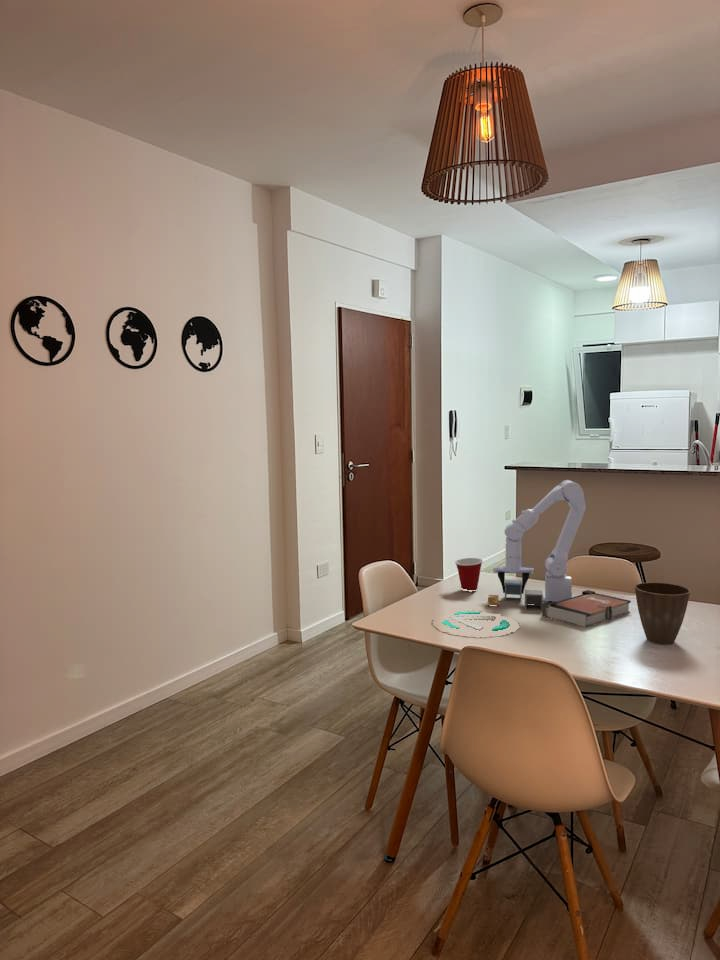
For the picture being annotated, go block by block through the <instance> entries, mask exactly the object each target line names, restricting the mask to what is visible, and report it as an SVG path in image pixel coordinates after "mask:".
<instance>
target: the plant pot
mask: <svg viewBox="0 0 720 960" xmlns="http://www.w3.org/2000/svg"><path fill="white" fill-rule="evenodd" d="M634 592H635V599H636V604H637V610H638V615H639V618H640V622H641V626H642V630H643V632H644V635H645V637H646V640H647V641H648V642H649V643H652V644H657V645H665V646H667V645H673V644H674V643H675V641H676V639H677V637H678V635H679V632H680V631H681V628H682V625H683V622H684V619H685V615H686V611H687V607H688V603H689V599H690V593H691V590H690V589H689V588H687V587H684V586H682V585H677V584H674V583H665V582H640V583H638V584H635V586H634Z"/></svg>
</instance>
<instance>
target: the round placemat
mask: <svg viewBox="0 0 720 960" xmlns="http://www.w3.org/2000/svg"><path fill="white" fill-rule="evenodd" d="M462 611H463V610H462ZM465 611H466V612H465ZM470 611H471V610H464V611H463V612H461V611H455V612H456V613H455V614H454V615H459V614H480V613H481V612H480V611H479V612H475V611H476V610H472V611H471V612H470ZM449 618H451V619H452V620H455V621H458V622H459V623H462V624H464V625H466V626H467V627H471V628H473V629H475V630H479V631H480V630H482V629H483V628H484V626H480V625H476V624H474V623H472V622H468V621H465V620H466V619H469V620H472V619H474V620H477V619H478V620H487V621H488V620H491V621H494V620H495V619H496V617H495V616H491V617H490V616H486V617H485V616H480V617H479V616H475V617H474V616H472V617H469V616H467V617H464V616H461V617H459V616H456V617H449ZM463 619H465V620H463ZM448 621H449V620H444V622H442V623H443V624H444V625H446V626H447V625H448V626H449V627H451V628H456V629H459V628H460V627H457V626H455V625H452V624H451V623H450V622H448ZM509 626H510V624H509V622H507V621H506V620H502V621H501V622H500V625H499V626H495V627H494V628H492V631H498V630H503V629H506V628H508V627H509Z"/></svg>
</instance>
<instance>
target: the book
mask: <svg viewBox="0 0 720 960" xmlns="http://www.w3.org/2000/svg"><path fill="white" fill-rule="evenodd" d="M631 603H632V602H631V600H630V599H629V600H628V599H623V598H619V597H615V596H611V595H606V594H603V593H602V594H600V593H597V592H596V591H593V590H589V589H587V590H583V591H582V592H581V594H579V595H576V596H573V597H571V598H569V599H565V600H562V601H558V602H548V601H544V602H543V603H542V610H541V614H542V615H541V617H543V616H545V617H544V618H547V617H548V619H550V618H552V619H551V620H554V619H556V620H555V621H558V620H559V622H562V621H563V623H566V624H569V623H570V625H573V624H574V626H577V625H578V627H580V628H581V627H582V628H584V627H585V629H586V627H587V628H590V627H591V626H595V625H598V624H601V623H604V622H606V621H607V622H608V621H611V620H613V619H616V618H619V617H622V616H624V614H625V615H627V614H630V613H631V611H630V610H629V608H630V606H629V605H630V604H631ZM629 612H630V613H629ZM626 613H627V614H626ZM621 615H622V616H621ZM618 616H619V617H618ZM589 626H590V627H589Z"/></svg>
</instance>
